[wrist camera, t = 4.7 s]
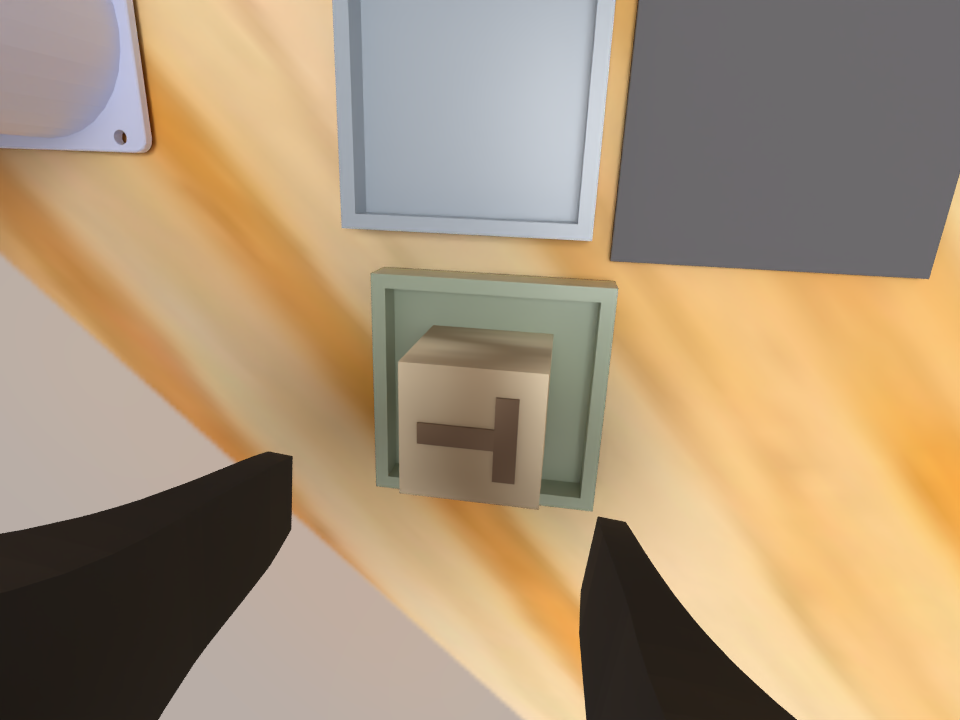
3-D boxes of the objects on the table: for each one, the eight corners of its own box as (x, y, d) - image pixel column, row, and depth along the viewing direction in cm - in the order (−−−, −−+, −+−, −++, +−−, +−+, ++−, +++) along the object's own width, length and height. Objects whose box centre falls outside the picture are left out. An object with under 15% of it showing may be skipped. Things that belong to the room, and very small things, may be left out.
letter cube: (432, 433, 22) (398, 494, 18) (433, 325, 21) (396, 362, 16) (544, 445, 21) (538, 511, 17) (553, 334, 20) (548, 375, 16)
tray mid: (357, 224, 20) (341, 228, 19) (348, -46, 18) (329, -66, 16) (590, 236, 19) (592, 240, 18) (618, -51, 17) (622, -73, 15)
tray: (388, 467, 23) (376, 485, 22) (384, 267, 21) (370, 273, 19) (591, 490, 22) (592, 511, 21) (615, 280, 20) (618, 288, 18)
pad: (609, 259, 19) (611, 261, 19) (647, -82, 16) (648, -88, 16) (921, 277, 18) (929, 278, 18) (1027, -92, 15) (1038, -99, 15)
